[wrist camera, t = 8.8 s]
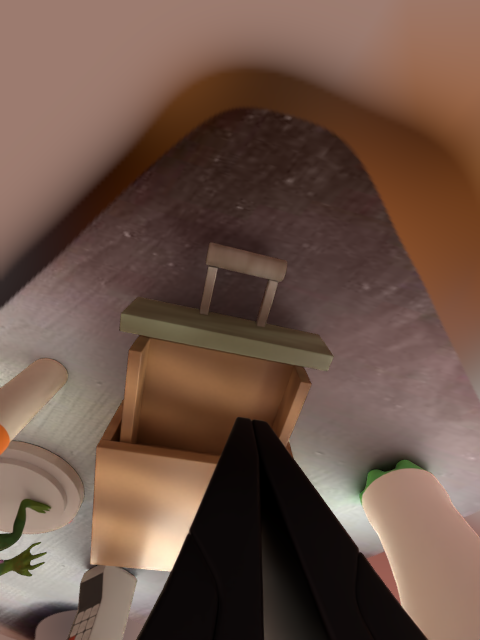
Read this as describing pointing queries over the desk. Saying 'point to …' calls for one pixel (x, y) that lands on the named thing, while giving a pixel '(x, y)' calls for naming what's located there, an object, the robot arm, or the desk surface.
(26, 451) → the monster figurine
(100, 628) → the vintage mobile phone
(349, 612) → the robot arm
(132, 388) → the drawer
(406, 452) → the desk surface
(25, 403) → the glue stick
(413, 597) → the cup
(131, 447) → the cabinet
